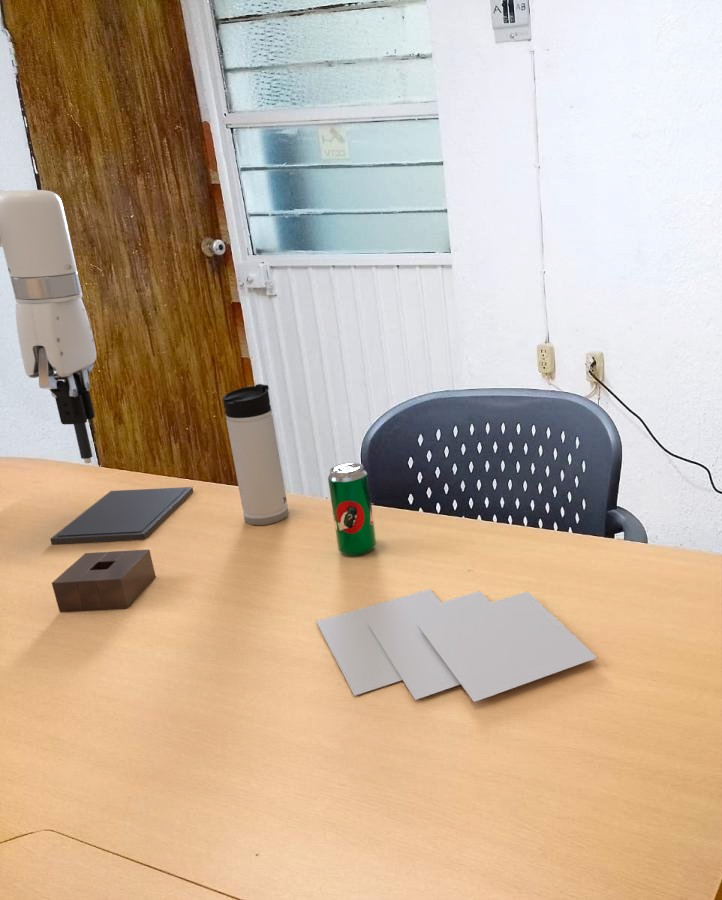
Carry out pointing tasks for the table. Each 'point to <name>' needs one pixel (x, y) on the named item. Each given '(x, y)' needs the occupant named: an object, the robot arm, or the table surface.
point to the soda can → (352, 509)
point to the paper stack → (451, 644)
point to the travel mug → (256, 455)
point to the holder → (104, 580)
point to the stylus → (83, 439)
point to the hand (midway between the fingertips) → (78, 420)
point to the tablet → (123, 516)
